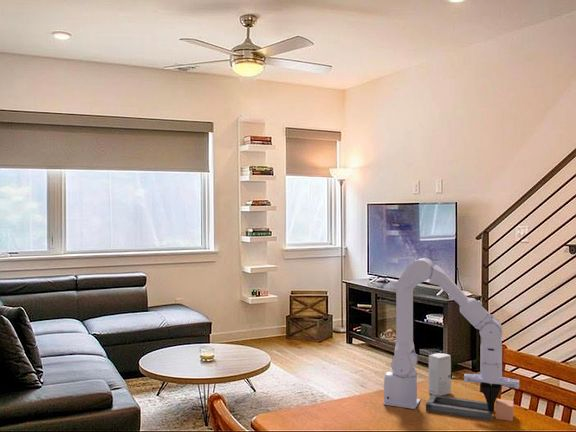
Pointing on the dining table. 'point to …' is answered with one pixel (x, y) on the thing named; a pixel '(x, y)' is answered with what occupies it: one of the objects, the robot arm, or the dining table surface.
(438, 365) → the skincare box
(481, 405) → the grey tray
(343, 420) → the dining table surface
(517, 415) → the dining table surface
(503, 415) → the block
